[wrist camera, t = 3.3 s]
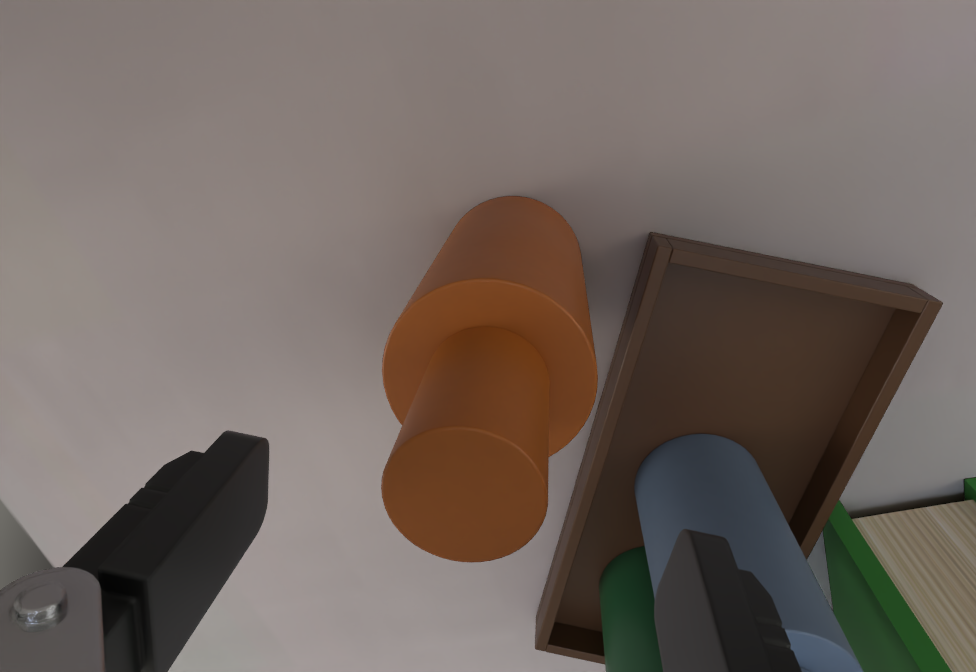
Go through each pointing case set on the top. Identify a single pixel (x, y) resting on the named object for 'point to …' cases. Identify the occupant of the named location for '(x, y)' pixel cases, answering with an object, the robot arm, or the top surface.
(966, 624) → the hardback book
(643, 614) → the green bottle
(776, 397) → the tray
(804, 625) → the slate bottle
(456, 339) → the amber bottle
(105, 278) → the top surface
